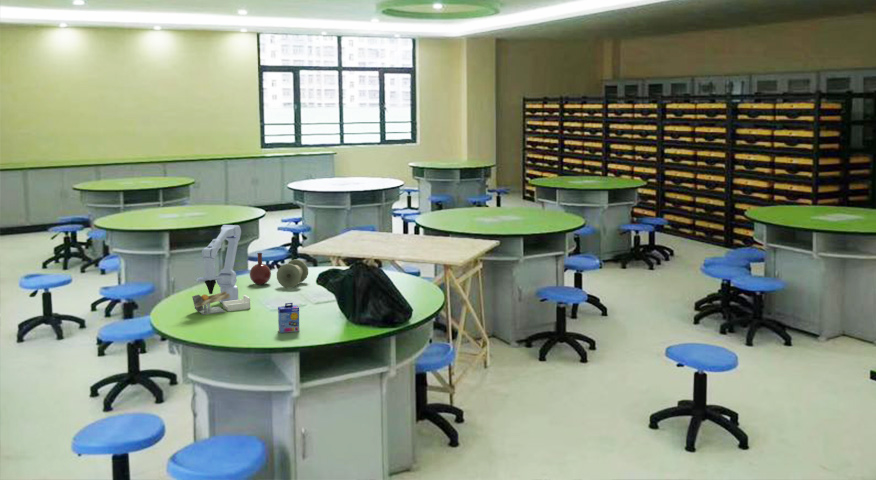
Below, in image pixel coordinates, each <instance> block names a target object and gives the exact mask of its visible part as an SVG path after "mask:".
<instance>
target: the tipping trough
mask: <svg viewBox="0 0 876 480" xmlns="http://www.w3.org/2000/svg"><path fill="white" fill-rule="evenodd" d="M201 296H202V295H200V294H196V295H193V296H191V297H192V301H193V305H194V309H195V311H197V312H198V313H199V311H202V310H204V305H207V303H210V304H213V303H216V302H217V303H218V302H220V301H221V300H224V299H227V298H230V295H229V294H227V293H226V291H225V292H222V293H221V292H219V293H215V294H210V295H209V296H208V295H207V296H208V298H209V299H208V300H205V301H203V300H202V297H201Z"/></svg>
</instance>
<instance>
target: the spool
mask: <svg viewBox="0 0 876 480" xmlns="http://www.w3.org/2000/svg"><path fill="white" fill-rule="evenodd" d="M308 276H309V268H308V265H307V264H306V263H305V261H303V260H300V259H292V260H289V261H288V262H287V263H285V264H282V265H280V267H278V269H277V271H276V280H277V283H279V285H281V286H282V287H283V288H285V289H292V288H294V287H296V286H298V285H299V284H300V283H303V282H304V281H305V280H306V279H307V278H308ZM299 282H300V283H299Z"/></svg>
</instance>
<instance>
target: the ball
mask: <svg viewBox="0 0 876 480" xmlns="http://www.w3.org/2000/svg"><path fill="white" fill-rule="evenodd" d="M200 296H201V297H202V300H203V301H205V300H208V299H209V298H208V294H202V295H200Z"/></svg>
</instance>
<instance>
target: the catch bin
mask: <svg viewBox="0 0 876 480" xmlns="http://www.w3.org/2000/svg"><path fill="white" fill-rule="evenodd" d="M242 295H243V296H242V297H243V298H242V299H241V298H239V299H238V300H232V301H223V303H222V309H223V310H224V311H227V312H233V311H240V310H241V311H242V310H250V309H251V298H250V297H249V296H248V295H246V294H242Z"/></svg>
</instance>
